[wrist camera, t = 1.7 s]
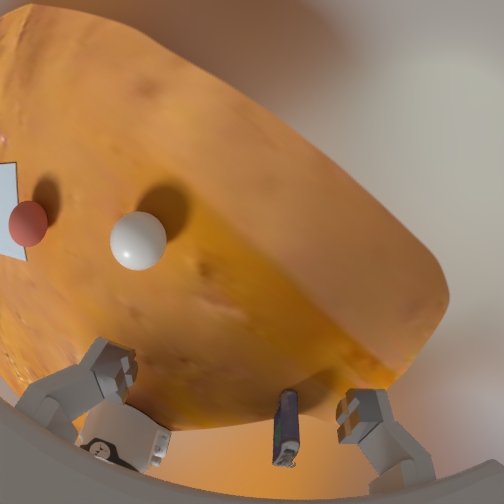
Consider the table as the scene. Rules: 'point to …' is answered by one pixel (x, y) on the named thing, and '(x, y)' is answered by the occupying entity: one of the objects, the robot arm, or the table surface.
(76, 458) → the robot arm
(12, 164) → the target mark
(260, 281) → the table surface
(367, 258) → the table surface
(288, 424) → the flask
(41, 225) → the object ball
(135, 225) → the cue ball
